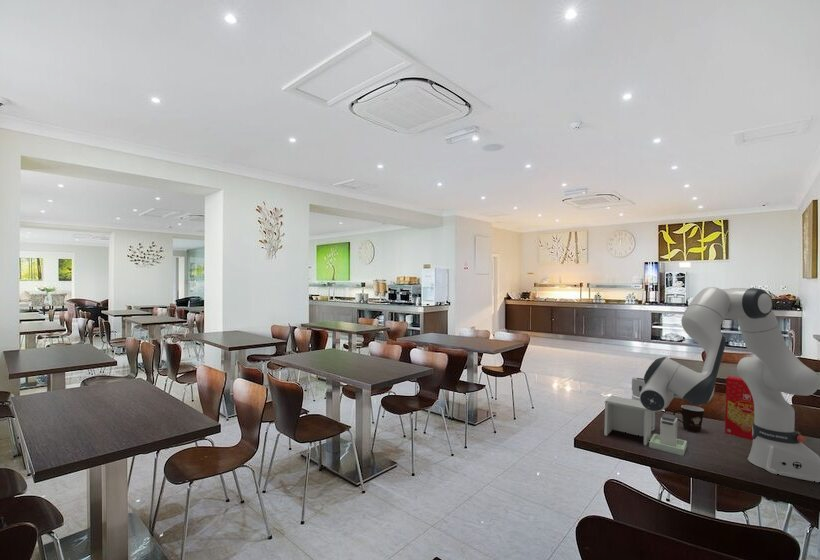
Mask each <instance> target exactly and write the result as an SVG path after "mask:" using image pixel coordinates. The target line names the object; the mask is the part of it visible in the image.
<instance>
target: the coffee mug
mask: <svg viewBox="0 0 820 560" xmlns="http://www.w3.org/2000/svg"><path fill="white" fill-rule="evenodd" d="M680 409H681V410H680ZM680 409H675V410H674V411H673V414H672V415H675V416H676V412H680V413H681V417H682V420H680V419H679V418H678V417H677V416H676V418H677V421H679V422H681V423H682V428H683V430H684V429H685V431H686V430H687V431H686V432H689V433H697V434H698V433H701V431H702V424H703V418H704V412H705V409H704V408H702V407H699V406H697V405H691V404H690V405H688V404H685V405H684V404H682V405H681V406H680Z"/></svg>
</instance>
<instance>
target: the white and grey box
mask: <svg viewBox="0 0 820 560" xmlns="http://www.w3.org/2000/svg"><path fill="white" fill-rule="evenodd" d="M676 417H677V416H676V414H675V415H673V414H669V413H663V415H662V417H660V426H659V430H660V431H659V433H660V434H659V435H660V444H664V445H669V446H673V447H676V446H677V439H678V420H677V418H678V417H677V418H676Z"/></svg>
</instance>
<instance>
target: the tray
mask: <svg viewBox="0 0 820 560" xmlns="http://www.w3.org/2000/svg"><path fill="white" fill-rule="evenodd" d="M649 448H650V449H653V450H658V451H661V452H665V453H669V454H673V455H676V456H677V455H678V456H681V457H684V456H685V453H686V451H687V448H688V441H687V440H684V439H681V438H677V446H676V447H673V446H669V445H664V444H660V434H657V433H653V434H652V435H651V439H650V441H649V442H648V449H649Z"/></svg>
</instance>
